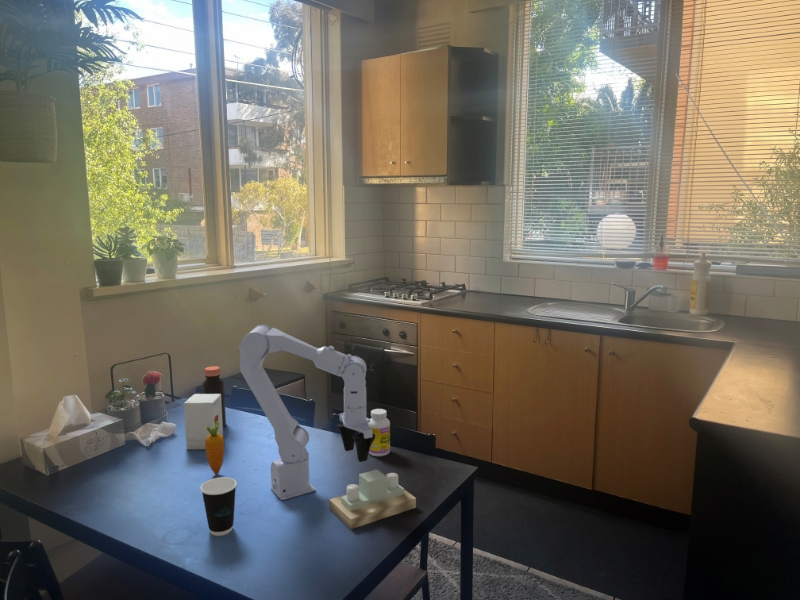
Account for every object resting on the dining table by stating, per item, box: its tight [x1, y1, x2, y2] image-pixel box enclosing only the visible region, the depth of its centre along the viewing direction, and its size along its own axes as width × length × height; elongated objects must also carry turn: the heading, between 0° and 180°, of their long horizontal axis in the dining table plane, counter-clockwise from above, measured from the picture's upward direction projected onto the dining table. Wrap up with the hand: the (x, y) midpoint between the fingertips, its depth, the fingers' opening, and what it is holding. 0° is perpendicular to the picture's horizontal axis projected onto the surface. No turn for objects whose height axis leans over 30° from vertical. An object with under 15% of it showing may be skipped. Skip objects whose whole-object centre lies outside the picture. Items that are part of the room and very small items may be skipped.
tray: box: [341, 468, 405, 511], centre depth 145 cm, size 15×5×6 cm, turn 123°
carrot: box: [205, 421, 225, 476], centre depth 163 cm, size 5×5×15 cm
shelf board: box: [328, 489, 417, 530], centre depth 145 cm, size 18×11×2 cm, turn 123°
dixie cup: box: [199, 476, 238, 537], centre depth 135 cm, size 8×8×11 cm
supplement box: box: [183, 393, 224, 450], centre depth 184 cm, size 9×9×15 cm
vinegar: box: [202, 365, 227, 427], centre depth 198 cm, size 7×7×20 cm
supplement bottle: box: [368, 408, 391, 457], centre depth 177 cm, size 7×7×13 cm
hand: (355, 455), depth 154 cm, fingers open, 7 cm apart
